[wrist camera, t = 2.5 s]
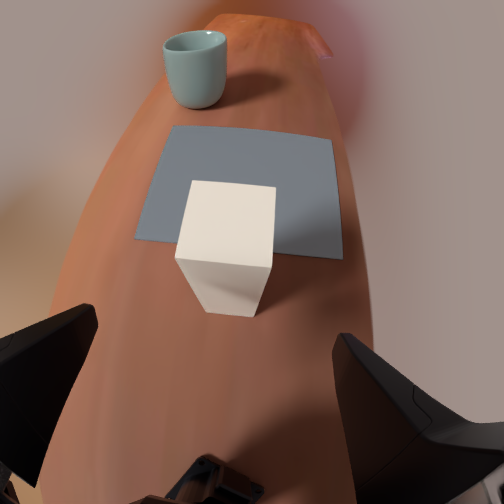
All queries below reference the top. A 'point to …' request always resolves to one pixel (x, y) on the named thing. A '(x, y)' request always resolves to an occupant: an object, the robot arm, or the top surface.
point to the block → (227, 244)
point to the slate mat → (252, 173)
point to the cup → (196, 67)
